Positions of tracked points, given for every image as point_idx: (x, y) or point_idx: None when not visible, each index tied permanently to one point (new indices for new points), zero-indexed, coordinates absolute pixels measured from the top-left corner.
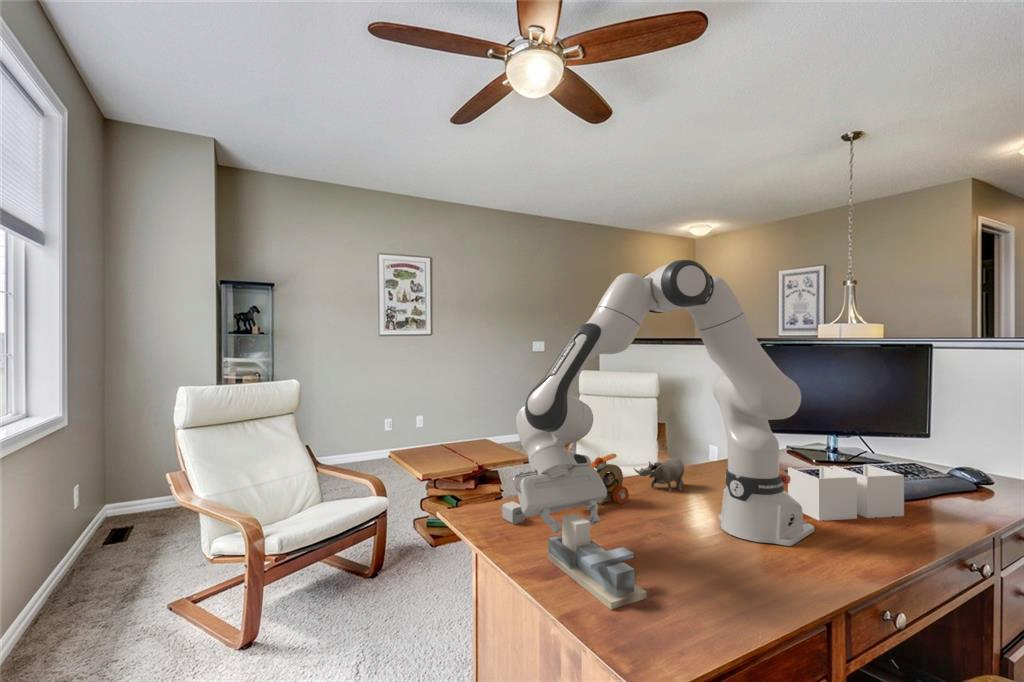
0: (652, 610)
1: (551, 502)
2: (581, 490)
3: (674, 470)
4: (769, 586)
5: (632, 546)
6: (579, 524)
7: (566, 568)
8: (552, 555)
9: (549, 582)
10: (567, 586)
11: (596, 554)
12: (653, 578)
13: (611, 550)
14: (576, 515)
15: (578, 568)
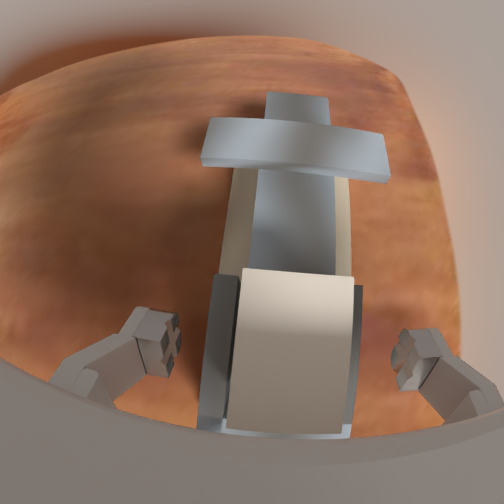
0: None
1: (493, 427)
2: (97, 490)
3: None
4: (62, 100)
5: (58, 326)
6: (326, 276)
7: None
8: None
9: (407, 295)
10: (378, 254)
11: (329, 162)
12: (157, 175)
13: (259, 157)
14: (246, 403)
15: None
